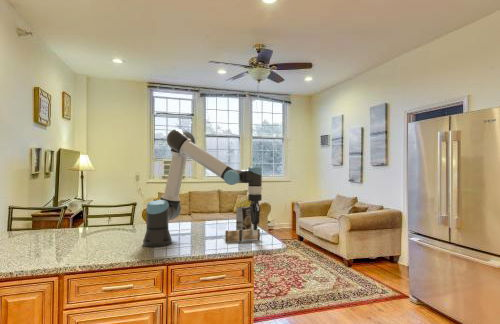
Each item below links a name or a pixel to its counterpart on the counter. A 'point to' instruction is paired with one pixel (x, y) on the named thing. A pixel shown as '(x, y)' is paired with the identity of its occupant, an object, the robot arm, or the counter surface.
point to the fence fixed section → (233, 235)
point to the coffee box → (243, 218)
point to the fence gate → (250, 235)
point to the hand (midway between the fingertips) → (254, 235)
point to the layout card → (240, 241)
